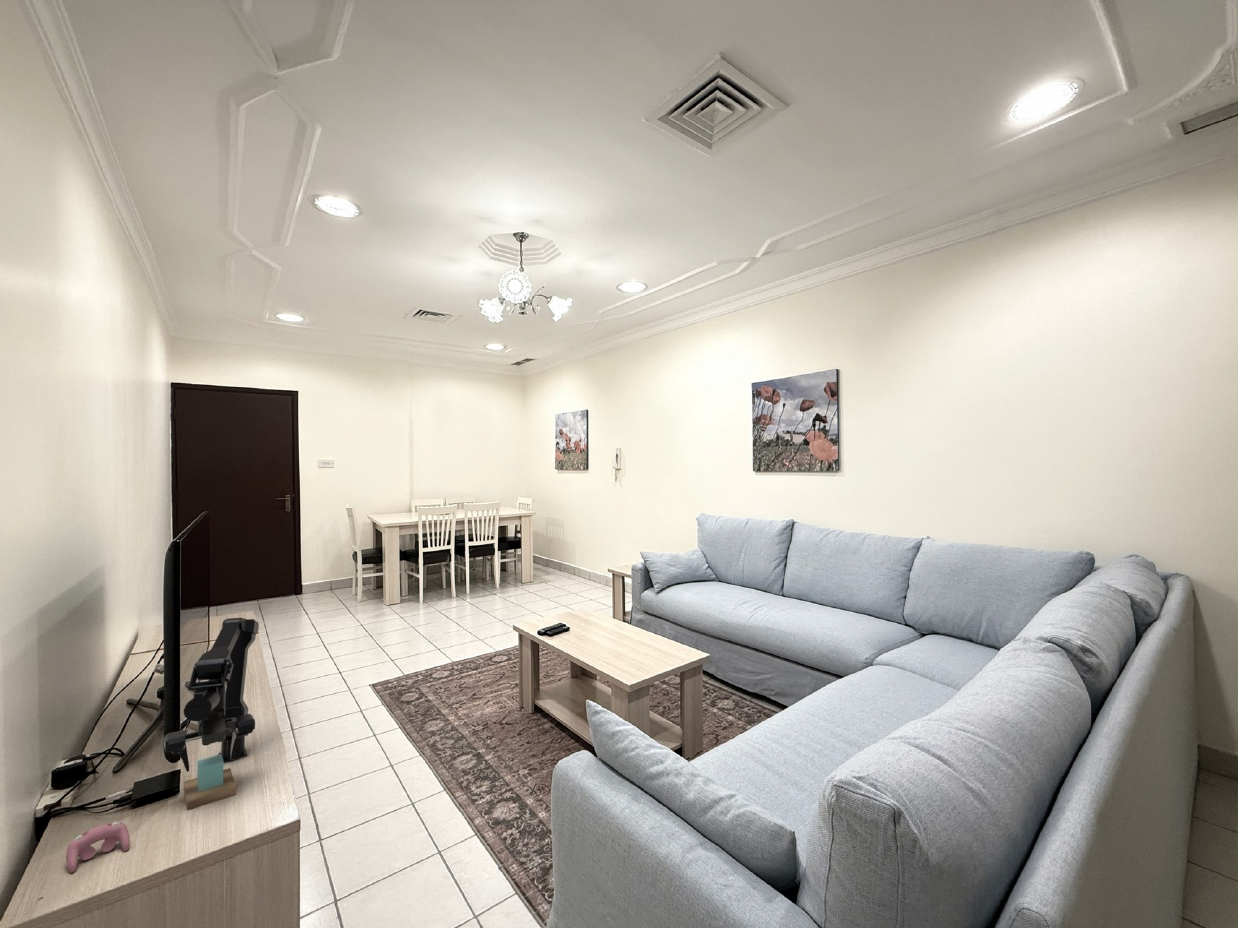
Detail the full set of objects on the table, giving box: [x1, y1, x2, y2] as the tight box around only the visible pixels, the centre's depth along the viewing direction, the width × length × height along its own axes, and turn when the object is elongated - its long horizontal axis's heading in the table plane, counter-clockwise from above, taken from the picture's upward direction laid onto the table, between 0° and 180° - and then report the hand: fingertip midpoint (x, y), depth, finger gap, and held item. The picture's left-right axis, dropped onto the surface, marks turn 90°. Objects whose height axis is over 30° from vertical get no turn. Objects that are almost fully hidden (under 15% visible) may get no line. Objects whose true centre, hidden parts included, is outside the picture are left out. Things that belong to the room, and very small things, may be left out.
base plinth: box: [183, 767, 237, 811], centre depth 140 cm, size 12×10×2 cm
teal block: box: [196, 754, 225, 792], centre depth 140 cm, size 5×5×6 cm
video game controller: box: [65, 821, 131, 874], centre depth 116 cm, size 10×5×7 cm, turn 141°
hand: (210, 764), depth 140 cm, fingers open, 9 cm apart
